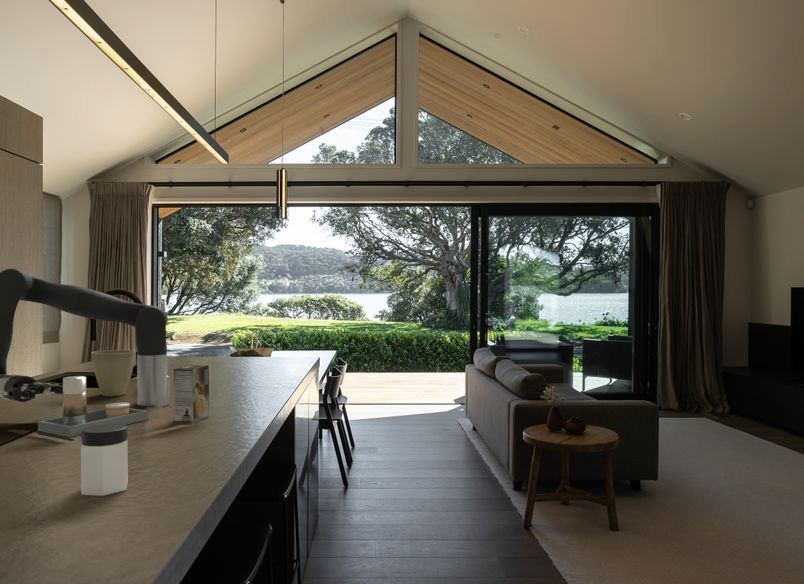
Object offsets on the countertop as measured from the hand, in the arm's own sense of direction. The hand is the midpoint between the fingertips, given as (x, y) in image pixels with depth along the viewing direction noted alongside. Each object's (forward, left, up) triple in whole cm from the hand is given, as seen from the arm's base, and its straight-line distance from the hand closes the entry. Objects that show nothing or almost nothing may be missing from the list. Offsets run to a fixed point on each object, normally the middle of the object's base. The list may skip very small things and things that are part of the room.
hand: (49, 392), depth 174 cm
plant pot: (-44, -33, -10) cm, 56 cm away
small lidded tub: (-13, +12, -9) cm, 20 cm away
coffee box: (-26, +28, -10) cm, 39 cm away
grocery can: (0, +12, -9) cm, 15 cm away
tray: (-6, +12, -10) cm, 17 cm away
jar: (+26, +62, -10) cm, 68 cm away
